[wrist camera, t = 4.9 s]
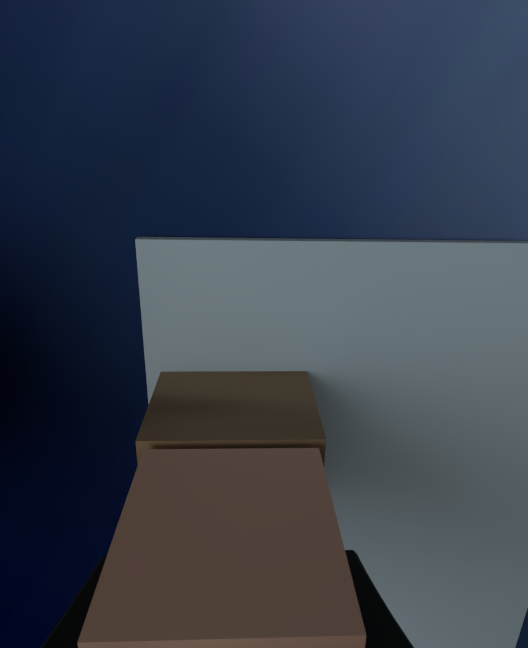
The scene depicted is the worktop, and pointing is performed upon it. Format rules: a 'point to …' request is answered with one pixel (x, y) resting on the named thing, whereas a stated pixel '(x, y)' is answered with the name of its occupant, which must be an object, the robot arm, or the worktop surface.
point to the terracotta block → (226, 556)
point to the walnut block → (232, 412)
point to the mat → (382, 399)
